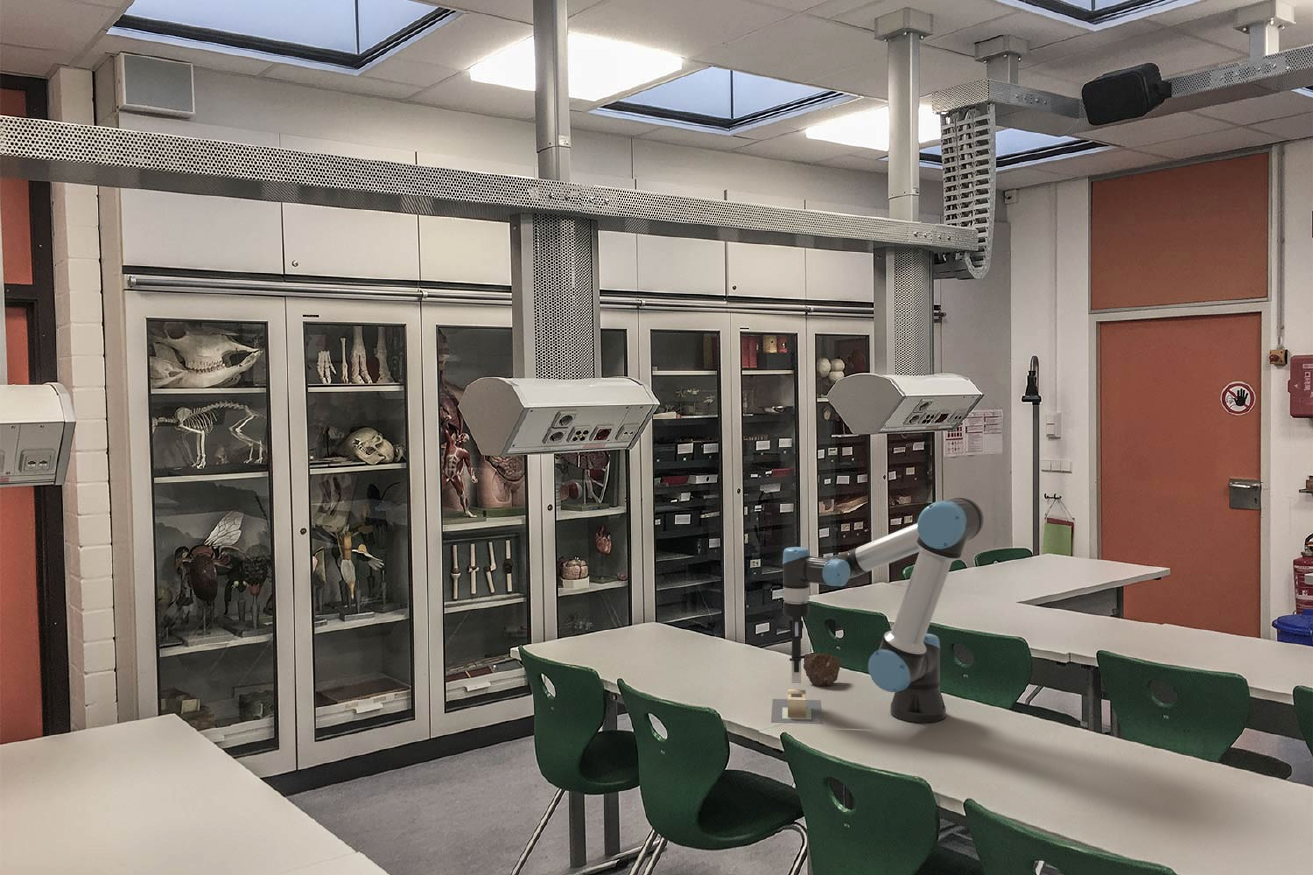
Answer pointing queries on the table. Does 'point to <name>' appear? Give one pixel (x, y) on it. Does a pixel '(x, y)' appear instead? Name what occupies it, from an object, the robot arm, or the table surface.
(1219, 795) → the table surface
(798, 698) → the beech block
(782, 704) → the rubber mat
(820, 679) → the rock
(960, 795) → the table surface
